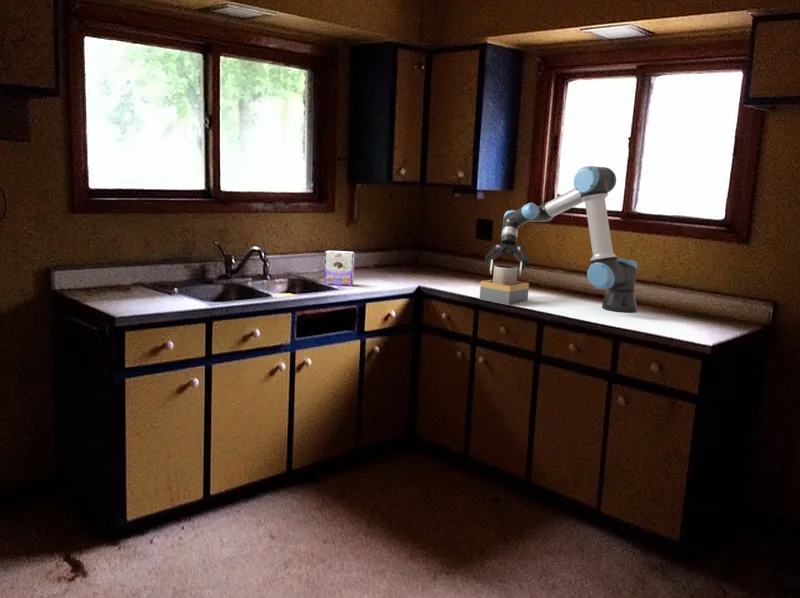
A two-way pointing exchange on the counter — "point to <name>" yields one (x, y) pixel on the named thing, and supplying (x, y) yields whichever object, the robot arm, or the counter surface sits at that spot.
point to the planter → (505, 275)
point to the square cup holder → (504, 292)
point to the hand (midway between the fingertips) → (505, 273)
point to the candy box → (339, 268)
